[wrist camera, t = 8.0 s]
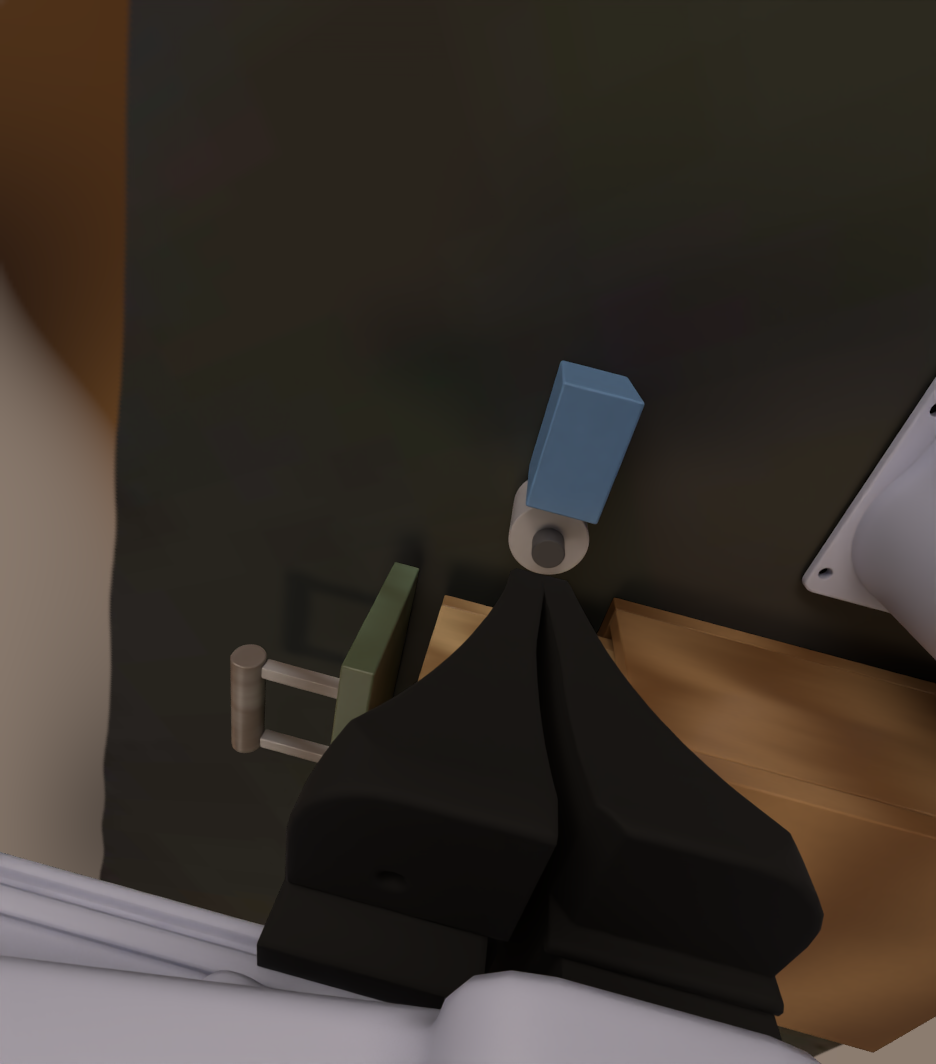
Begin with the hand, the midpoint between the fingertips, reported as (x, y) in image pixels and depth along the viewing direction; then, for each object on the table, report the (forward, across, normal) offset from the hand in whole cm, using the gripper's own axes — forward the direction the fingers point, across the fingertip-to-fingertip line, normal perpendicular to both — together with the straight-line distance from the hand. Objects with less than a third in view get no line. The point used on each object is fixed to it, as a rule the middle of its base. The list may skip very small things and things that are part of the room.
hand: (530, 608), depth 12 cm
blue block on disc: (+10, -1, 0) cm, 10 cm away
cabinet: (+10, -13, +13) cm, 21 cm away
